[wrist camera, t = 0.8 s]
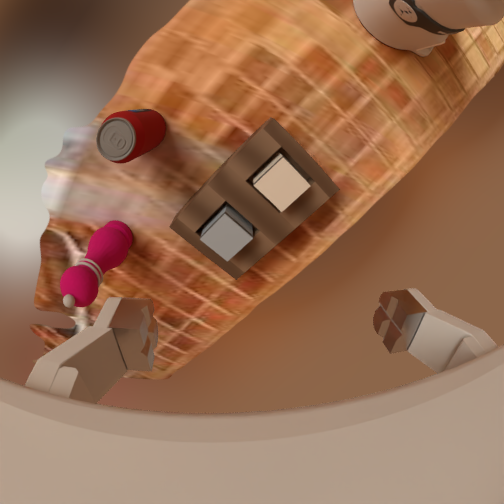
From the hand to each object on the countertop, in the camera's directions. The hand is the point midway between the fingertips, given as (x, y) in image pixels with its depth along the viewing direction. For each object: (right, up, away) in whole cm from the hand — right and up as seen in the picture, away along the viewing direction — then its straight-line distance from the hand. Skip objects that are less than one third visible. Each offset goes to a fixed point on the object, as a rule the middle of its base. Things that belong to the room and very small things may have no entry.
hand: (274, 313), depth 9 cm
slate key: (-5, +6, +35) cm, 36 cm away
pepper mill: (-25, +5, +38) cm, 46 cm away
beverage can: (-17, +21, +29) cm, 40 cm away
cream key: (+3, +13, +31) cm, 34 cm away
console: (-1, +11, +35) cm, 37 cm away
